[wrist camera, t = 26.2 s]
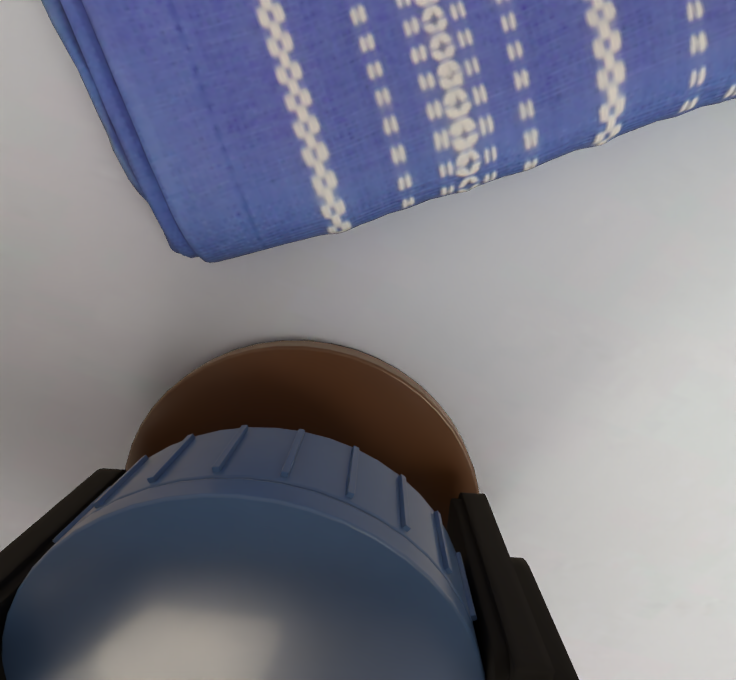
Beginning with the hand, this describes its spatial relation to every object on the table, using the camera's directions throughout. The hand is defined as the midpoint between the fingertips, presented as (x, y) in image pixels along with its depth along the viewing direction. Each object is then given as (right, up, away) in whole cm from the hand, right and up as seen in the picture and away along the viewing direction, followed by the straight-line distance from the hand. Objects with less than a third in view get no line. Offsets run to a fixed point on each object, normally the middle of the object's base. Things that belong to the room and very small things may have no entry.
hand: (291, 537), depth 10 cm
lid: (0, -1, -3) cm, 3 cm away
